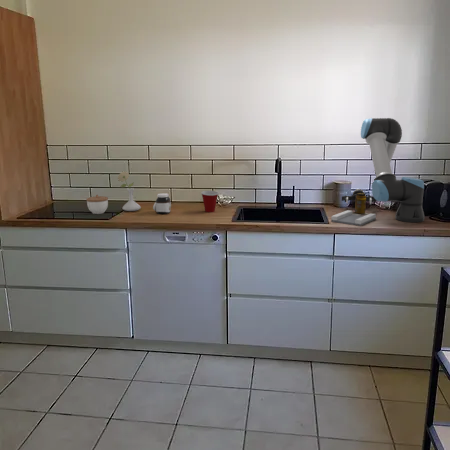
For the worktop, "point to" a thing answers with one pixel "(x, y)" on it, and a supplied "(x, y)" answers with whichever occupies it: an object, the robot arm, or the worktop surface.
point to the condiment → (360, 204)
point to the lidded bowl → (97, 204)
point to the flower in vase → (131, 204)
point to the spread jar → (162, 204)
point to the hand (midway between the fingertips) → (358, 201)
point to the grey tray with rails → (352, 218)
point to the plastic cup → (209, 200)
